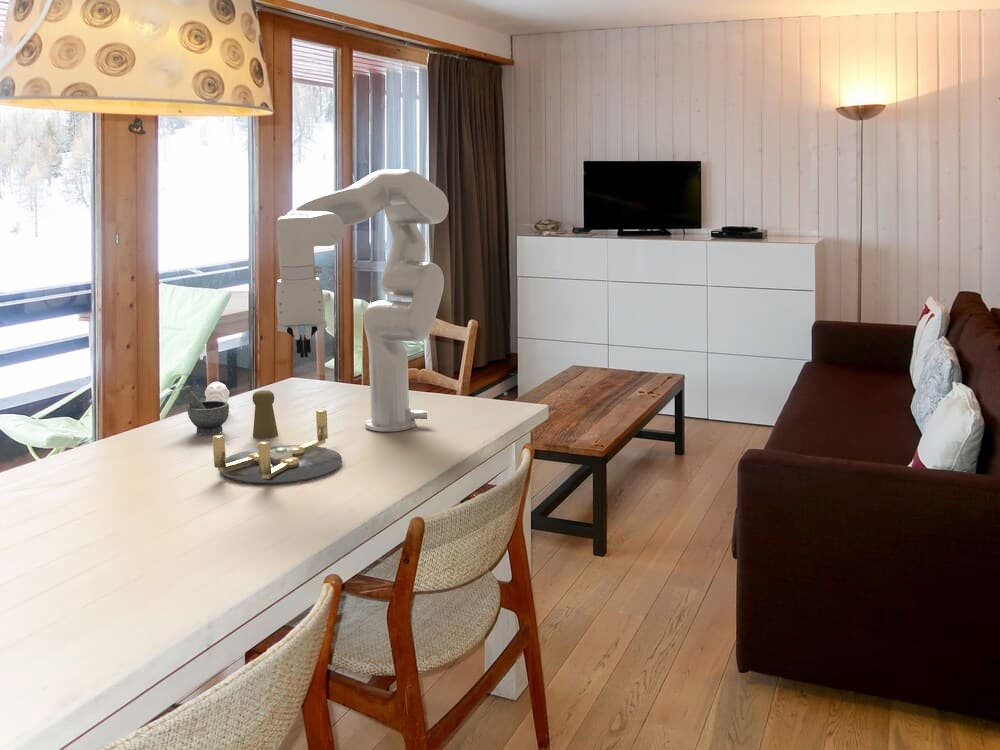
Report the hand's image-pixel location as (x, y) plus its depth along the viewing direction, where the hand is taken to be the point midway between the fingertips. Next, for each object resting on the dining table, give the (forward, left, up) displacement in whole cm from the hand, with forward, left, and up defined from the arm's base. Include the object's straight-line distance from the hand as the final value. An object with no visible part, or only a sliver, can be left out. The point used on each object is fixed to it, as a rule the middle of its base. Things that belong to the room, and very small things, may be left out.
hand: (304, 356), depth 224 cm
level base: (+5, +7, -23) cm, 25 cm away
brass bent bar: (0, -2, -22) cm, 22 cm away
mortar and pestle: (+28, -24, -23) cm, 44 cm away
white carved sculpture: (+29, -40, -23) cm, 55 cm away
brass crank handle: (+4, +15, -22) cm, 27 cm away
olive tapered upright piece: (+13, -20, -23) cm, 34 cm away
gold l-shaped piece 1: (+13, +10, -22) cm, 27 cm away
